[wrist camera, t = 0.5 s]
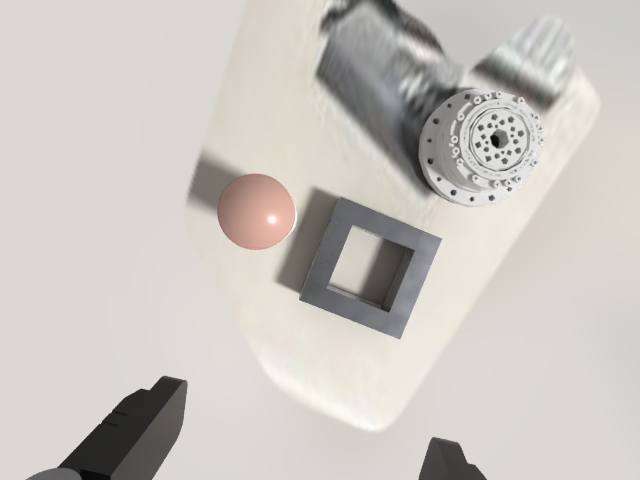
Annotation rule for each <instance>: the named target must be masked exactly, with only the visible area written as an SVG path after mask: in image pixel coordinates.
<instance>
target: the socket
mask: <svg viewBox="0 0 640 480" xmlns="http://www.w3.org/2000/svg"><path fill="white" fill-rule="evenodd" d="M352 226H353V227H356V228H358V229H361V230H363V231H366V232H368V233H371V234H373V235H375V236H378V237H380V238H383V239H385V240H388V241H390V242H393V243H395V244H397V245H400V246H402V247H405V248H406V250H405V252H404V255H403V257H402V260H401V262H400V264H399V267H398V269H397V272H396V274H395V277H394V279H393V281H392V284H391V286H390V289H389V291H388V293H387V296H386V298H385V301H384V303H383V306H381V305H379V304H376V303H374V302H371V301H369V300H366V299H364V298H361V297H359V296H356V295H354V294H351V293H349V292H346V291H344V290H341V289H339V288H336V287H334V286H331V285H328V283H329V281H330V278H331V276H332V273H333V271H334V268H335V266H336V263H337V261H338V259H339V256H340V254H341V251H342V249H343V246H344V244H345V241H346V239H347V236H348V234H349V232H350V229H351V227H352ZM441 240H442V239H441V238H439V237H436V236H434V235H432V234H429V233H427V232H424V231H422V230H419V229H417V228H415V227H412V226H410V225H407V224H405V223H403V222H400V221H398V220H395V219H393V218H390V217H388V216H386V215H383V214H381V213H378V212H376V211H374V210H371V209H369V208H366V207H364V206H361V205H359V204H357V203H354V202H352V201H349V200H347V199H345V198H342V197H340V198H339V199H338V201H337V203H336V205H335V208H334V210H333V213H332V215H331V218H330V220H329V223H328V225H327V228H326V230H325V233H324V235H323V237H322V240H321V242H320V245H319V247H318V250H317V252H316V255H315V257H314V260H313V262H312V265H311V267H310V269H309V272H308V274H307V277H306V279H305V282H304V284H303V287H302V289H301V292H300V296H299V300H301V301H303V302H306V303H309V304H311V305H314V306H316V307H319V308H321V309H324V310H326V311H329V312H332V313H334V314H337V315H339V316H342V317H344V318H347V319H349V320H352V321H354V322H357V323H360V324H362V325H365V326H367V327H370V328H372V329H375V330H377V331H380V332H382V333H385V334H388V335H390V336H393V337H395V338H398V339H400V338H401V336H402V334H403V331H404V329H405V326H406V324H407V322H408V319H409V317H410V314H411V312H412V310H413V307H414V305H415V302H416V300H417V298H418V295H419V293H420V290H421V288H422V286H423V283H424V281H425V278H426V276H427V274H428V271H429V269H430V266H431V264H432V262H433V259H434V257H435V254H436V252H437V250H438V247H439V245H440V242H441Z"/></svg>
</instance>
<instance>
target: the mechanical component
mask: <svg viewBox="0 0 640 480" xmlns="http://www.w3.org/2000/svg"><path fill="white" fill-rule="evenodd" d="M524 101H525V100H524V99H523V97H521V98H517V97H516V96H514V95H511V94H506V93H502V91H494V90H491V89H471V90H466V91H463V92H460V93H458V94H456V95H454V96H451V97H450V98H448V99H447V100H446V101H445V102H444V103H442V104H441V105H440V106H439V107H438V108H436V110H435V111H434V112H433V113H432V114H431V115H430V116H429V118H428V120H427V122H426V123H425V125H424V127H423V130H422V133H421V136H420V139H419V156H418V157H419V161H420V164H421V168H422V171H423V175H424V176H425V178H426V180H427V182H428V183H429V185H430V186H431V187H432V188H433V189H434V190H435V191H436V192H437V193H438V195H440V196H442V197H444V198H445V199H447V200H449V201H450V202H452V203H455V204H459V205H463V206H466V207H475V206H486V205H491V204H496V203H498V202H500V201H502V200H505V199H507V198H508V197H510V196H511V195H512V194H514V193H515V192H516V191H518V190H519V188H520V187H521V186H522V185H523V183H524V182H525V181H526V179H527V178H528V176H529V174H530V172H531V171H532V170H533V168H534V167H535V166H537V165H538V163H539V161H538V159H539V156H540V153H541V150H542V144H543V143H544V142H545V138H544V137H542V132H543V131H544V126H542V125H540V123H539V121H538V120H540V115H538V114H535V112H534V111H533V110H532V109H531V108H530V107H529V106H528V105H527V104H526V103H525V102H524ZM490 138H491V140H492V142H493V143H492V142H491V140H490ZM427 161H429V163H428V162H427ZM450 192H452V194H451V193H450Z"/></svg>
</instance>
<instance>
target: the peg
mask: <svg viewBox="0 0 640 480" xmlns="http://www.w3.org/2000/svg"><path fill="white" fill-rule="evenodd" d="M218 220H219V223H220V226H221V228H222V230H223V232H224V233H225V235H226V236H227V237H228V238H229V239H230V240H231V241H232V242H233V243H235V244H237V245H238V246H240V247H243V248H246V249H251V250H261V249H266V248H269V247H272V246H274V245H276V244H277V243H279V242H280V241H281V240H283V239H284V238H286V237H287V236H289V235H290V234H291V233H292V232H293V231H294V230H295V228H296V226H297V223H298V211H297V208H296V206H295V204H294V202H293V200H292V198H291V196H290V195H289V193H288V191H287V190H286V188H285V187H284V186H283V185H282V184H281V183H280V182H278V181H277V180H275V179H274V178H272V177H269V176H266V175H262V174H249V175H244V176H241V177H239V178H237V179H235V180H234V181H232V182H231V183H230V184H229V185H228V186H227V187H226V188H225V190H224V191H223V193H222V195H221V197H220V200H219V203H218Z"/></svg>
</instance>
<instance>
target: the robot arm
mask: <svg viewBox="0 0 640 480" xmlns="http://www.w3.org/2000/svg"><path fill="white" fill-rule="evenodd" d="M186 394H187V381H186V380H181V379H177V378H172V377H168V376H163V377H161V378H160V379H159V380H158V382H157V383H156V384H155V385H154V386H153V387H152V388H151V389H150V390H145V389H140V390H138V391H136V392H135V393H133V394H131V395H129V396H127V397H125V398H124V399H123V400H122V401H121V402H120V403H119V404H118V405H117V406H116V407H115V408H114V409H113V411H112V413H110V414H109V415H108V416H107V417H106V418H105V419H104V420H103V421H102V423H101V424H99V425H98V426H97V427H96V428H95V429H94V430H93V431H92V432H91V433H90V434H89V435H88V436H87V437H86V438H85V439H84V441H83V442H82V443H81V444H80V445H79V446H78V447H77V448H76V449H75V450H74V451H73V452H72V453H71V454H70V455H69V456H68V457H67V458H66V459H65V460H64V461H63V462H62V463H61V464H60V465H59V466H58V467H57V468H54V469H49V470H46V471H43V472H40V473H37V474H35V475H33V476H31V477H29V478H28V479H26V480H152V479H153V477H154V475H155V474H156V472H157V471H158V469H159V467H160V466H161V464H162V463H163V461H164V459H165V458H166V456H167V455H168V453H169V451H170V450H171V448H172V447H173V445H174V443H175V442H176V440H177V438H178V435H179V433H180V430H181V427H182V424H183V418H184V409H185V402H186ZM419 480H487V479H486V478H485V477H484V475H483V474H482V473H481V472H480V471H479V469H478V468H477V467H476V466H475V465H473V464H468V463H467V461H466V459H465V456H464V454H463V451H462V449H461V446H460V445H459V443H457V442H454V441H449V440H445V439H440V438H436V437H433V438H432V439H431V441H430V443H429V447H428V450H427V453H426V456H425V459H424V462H423V466H422V469H421V472H420V475H419Z"/></svg>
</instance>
